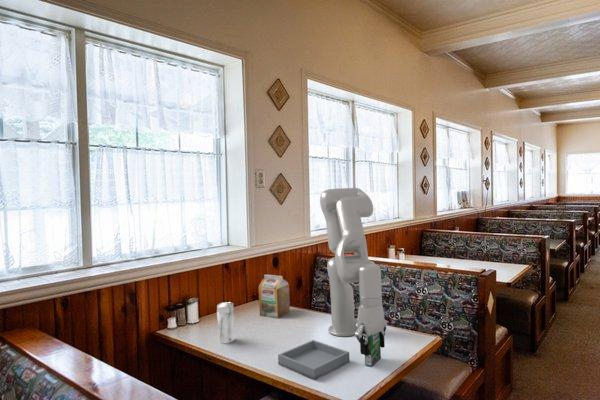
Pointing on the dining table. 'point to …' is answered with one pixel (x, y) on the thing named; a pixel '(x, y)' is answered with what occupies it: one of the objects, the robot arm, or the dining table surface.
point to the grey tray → (313, 359)
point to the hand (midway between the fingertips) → (372, 350)
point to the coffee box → (373, 349)
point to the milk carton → (274, 297)
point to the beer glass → (226, 321)
